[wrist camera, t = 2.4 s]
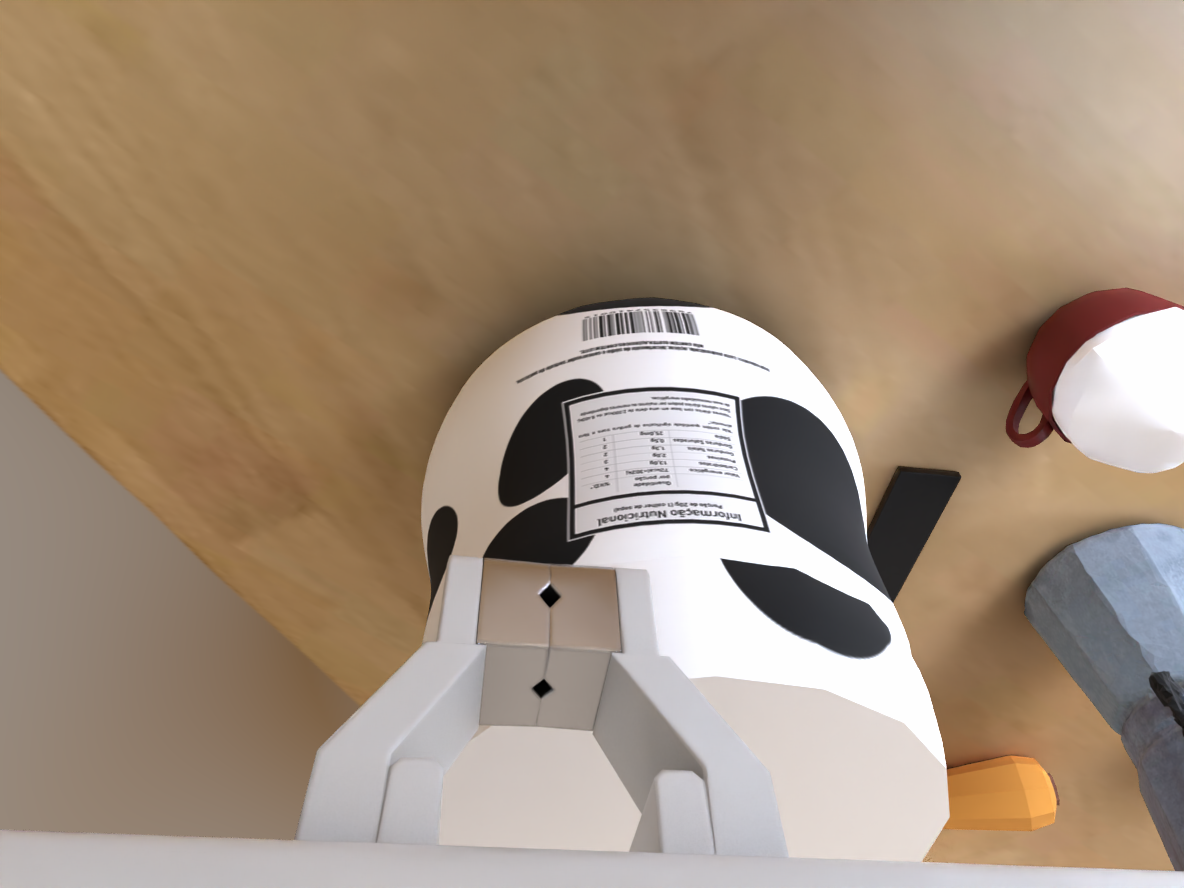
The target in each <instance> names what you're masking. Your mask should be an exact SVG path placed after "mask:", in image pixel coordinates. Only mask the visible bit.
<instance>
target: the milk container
mask: <svg viewBox="0 0 1184 888" xmlns="http://www.w3.org/2000/svg"><path fill="white" fill-rule="evenodd" d="M421 525H422V536H423V543H424V550H425V556H426V561H427V566H428V571H429V576H430V581H431V600H430V607H429V613H428V618H427V623H426V628H425V633H424V637H423V642H422V645H423V644H424V643H425V642H426V641H433V642H436V638H437V631H438V624H439V617H440V610H441V603H442V596H443V589H444V582H445V575H446V568H447V562H448V559H449V556H450V555H458V556H468V557H477V558H483V565H484V558H494V559H505V560H515V561H525V562H535V563H545V564H549V563H552V564H568V565H583V566H599V567H612V568H613V569H614V568H629V569H644V570H647V572H648V573H649V575H650V582H651V590H652V598H653V606H654V614H655V622H656V630H657V637H658V645H659V653H660V656H669V657H670V658H671V659H672V660H673V661H674V662H675V664H676V665H677V666H678V667H679V668H680V669H681V670H682V672H683V673H684V674H685V675H686V676H687V677H688V679H689V680H690V681H691V682H692V683H693V684H694V685H695V687H696V688H697V689H698V690H699V691H700V692H701V694H702V695H703V696H704V697H705V698H706V699H707V700H708V702H709V703H710V704H711V705H712V706H713V707H714V708H715V710H716V711H717V712H718V713H719V714H720V715H721V717H722V718H723V719H724V720H725V721H726V722H727V723H728V725H729V726H730V727H731V728H732V729H733V730H734V732H735V733H736V734H737V735H738V736H739V737H740V738H741V740H742V741H743V742H744V743H745V744H746V745H747V746H748V748H749V749H750V750H751V751H752V752H753V753H754V755H755V756H756V757H757V758H758V759H759V760H760V761H761V763H762V764H763V765H764V766H765V767H766V768H767V770H768V771H769V772H770V774H771V778H772V783H773V787H774V792H775V796H776V801H777V805H778V810H779V814H780V819H781V823H782V828H783V832H784V837H785V841H786V846H787V850H788V855H789V857H793V858H821V859H849V860H878V861H906V862H922V860H923V859H924V857H925V856H926V854H927V852H928V851H929V849H930V848H931V846H932V844H933V843H934V841H935V840H936V838H937V836H938V835H939V833H940V832H941V830H942V829H943V827H944V825H945V824H946V822H947V821H948V819H949V817H950V813H949V798H948V784H947V769H946V762H945V756H944V750H943V744H942V739H941V736H940V732H939V729H938V725H937V721H936V718H935V714H934V710H933V707H932V703H931V699H930V696H929V693H928V690H927V688H926V685H925V683H924V680H923V678H922V675H921V673H920V671H919V669H918V667H917V665H916V664H915V662H914V660H913V658H912V656H911V652H910V646H909V642H908V639H907V636H906V633H905V630H904V628H903V625H902V623H901V621H900V619H899V616H898V614H897V612H896V609H895V607H894V605H893V603H892V601H891V599H890V596H889V594H888V592H887V590H886V588H885V586H884V584H883V581H882V579H881V577H880V575H879V573H878V570H877V568H876V566H875V564H874V561H873V559H872V556H871V553H870V551H869V547H868V543H867V527H866V500H865V488H864V479H863V474H862V469H861V465H860V461H859V458H858V454H857V451H856V448H855V445H854V442H853V439H852V436H851V434H850V432H849V430H848V428H847V426H846V424H845V422H844V419H843V417H842V415H841V413H840V411H839V410H838V408H837V407H836V405H835V403H834V402H833V400H832V399H831V397H830V396H829V394H828V393H827V391H826V390H825V388H824V387H823V386H822V385H821V383H820V382H819V381H818V379H817V378H816V377H815V376H814V375H813V373H812V372H811V371H810V370H809V369H808V368H807V367H806V365H805V364H804V363H803V362H802V361H801V360H800V359H799V358H798V357H797V356H796V355H795V354H794V353H793V352H792V351H791V350H790V349H789V348H788V347H786V346H785V345H784V344H783V343H782V342H780V341H779V340H778V339H777V338H775V337H774V336H772V335H771V334H769V333H768V332H766V331H765V330H763V329H762V328H760V327H758V326H756V325H754V324H753V323H751V322H749V321H747V320H745V319H742V318H740V317H738V316H736V315H733V314H731V313H728V312H725V311H722V310H719V309H716V308H713V307H709V306H704V305H700V304H696V303H691V302H684V301H678V300H671V299H662V298H634V299H625V300H616V301H609V302H601V303H595V304H590V305H585V306H580V307H577V308H575V309H572V310H569V311H567V312H564V313H561V314H559V315H556V316H554V317H552V318H549V319H547V320H545V321H542V322H540V323H538V324H536V325H534V326H532V327H531V328H529V329H527V330H525V331H523V332H522V333H520V334H518V335H517V336H515V337H514V338H512V339H511V340H509V341H508V342H506V343H505V344H504V345H503V346H501V347H500V348H499V349H497V350H496V351H495V352H494V353H493V354H492V355H490V356H489V357H488V358H487V359H486V360H485V361H484V362H483V363H482V364H481V365H480V366H479V367H478V368H477V370H476V371H475V372H474V373H473V374H472V375H471V377H470V378H469V379H468V381H467V382H466V383H465V385H464V386H463V387H462V389H461V391H460V392H459V394H458V396H457V397H456V399H455V401H454V402H453V404H452V406H451V408H450V409H449V411H448V413H447V415H446V417H445V419H444V421H443V423H442V425H441V428H440V430H439V432H438V434H437V437H436V440H435V442H434V445H433V448H432V451H431V454H430V457H429V461H428V465H427V470H426V474H425V479H424V484H423V493H422V507H421ZM482 575H483V570H482ZM481 586H482V582H481ZM480 596H481V595H480ZM592 733H593V731H584V730H572V729H559V728H546V727H530V726H490V725H479V728H478V730H477V731H476V733H475V734H474V736H473V737H472V738H471V740H470V741H469V742H468V744H467V745H466V746H465V748H464V749H463V751H462V752H461V753H460V755H459V756H458V757H457V759H456V760H455V762H454V763H453V764H452V766H451V767H450V768H449V770H448V771H447V772H446V774H445V775H444V777H443V789H442V804H441V819H440V835H439V845H449V846H477V847H506V848H534V849H562V850H590V851H619V852H629V850H630V847H631V844H632V841H633V838H634V836H635V833H636V830H637V827H638V824H639V821H640V818H641V815H642V814H641V812H640V811H639V809H638V808H637V806H636V804H635V803H634V801H633V799H632V798H631V796H630V795H629V793H628V791H627V790H626V788H625V786H624V785H623V783H622V782H621V780H620V778H619V777H618V775H617V773H616V772H615V770H614V768H613V767H612V765H611V764H610V762H609V760H608V759H607V757H606V755H605V754H604V752H603V751H602V749H601V747H600V746H599V744H598V742H597V741H596V739H595V738H594V736H593V734H592Z"/></svg>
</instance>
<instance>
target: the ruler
mask: <svg viewBox="0 0 1184 888" xmlns="http://www.w3.org/2000/svg"><path fill="white" fill-rule="evenodd" d="M960 479H961V475H960V474H959V472H953V471H943V470H932V469H921V468H911V467H900V466H899V467H898V468H897V470H896V472H895V474H894V476H893V478H892V481H891V483H890V485H889V487H888V489H887V491H886V493H885V495H884V497H883V499H882V501H881V504H880V506H879V508H878V510H877V512H876V514H875V516H874V518H873V520H872V522H871V524H870V527H869V529H868V531H867V543H868V547H869V551H870V553H871V556H872V559H873V561H874V564H875V566H876V568H877V570H878V573H879V575H880V577H881V579H882V581H883V584H884V586H885V588H886V590H887V592H888V594H889V596H890V599H891V601H892V603H893V602H894V600H895V598H896V597H897V595H898V593H899V591H900V589H901V587H902V586H903V584H904V582H905V580H906V578H907V576H908V575H909V573H910V571H911V569H912V567H913V565H914V564H915V562H916V560H917V558H918V556H919V554H920V553H921V551H922V549H923V547H924V545H925V543H926V542H927V540H928V538H929V536H930V534H931V532H932V531H933V529H934V527H935V525H936V523H937V521H938V520H939V518H940V516H941V514H942V512H943V510H944V508H945V507H946V505H947V503H948V501H949V499H950V497H951V496H952V494H953V492H954V490H955V488H956V486H957V485H958V483H959V481H960Z"/></svg>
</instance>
